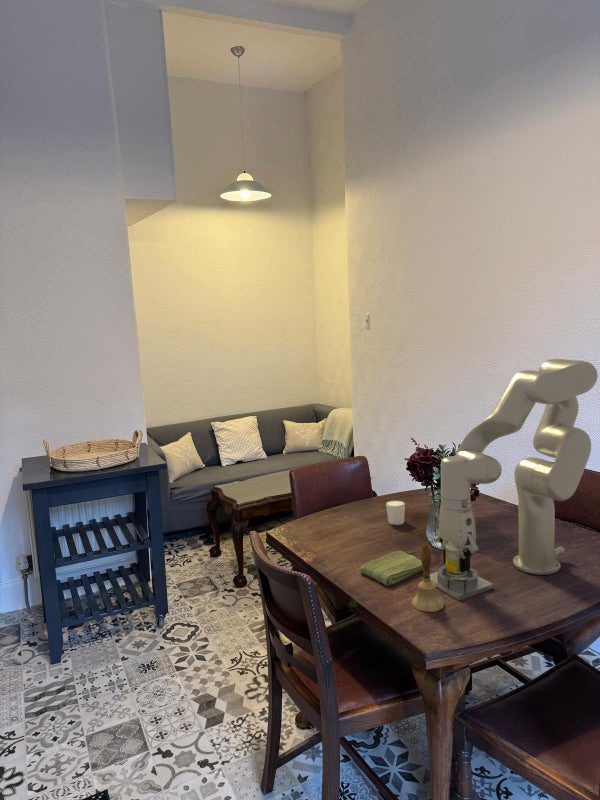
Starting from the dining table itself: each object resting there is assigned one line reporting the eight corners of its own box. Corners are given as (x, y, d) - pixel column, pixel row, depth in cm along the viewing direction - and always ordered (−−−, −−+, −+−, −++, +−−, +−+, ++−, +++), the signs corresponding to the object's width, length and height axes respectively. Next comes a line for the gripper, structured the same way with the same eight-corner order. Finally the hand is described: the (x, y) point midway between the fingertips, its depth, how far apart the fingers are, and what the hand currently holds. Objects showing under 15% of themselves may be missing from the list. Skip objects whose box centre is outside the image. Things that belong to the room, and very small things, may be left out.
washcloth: (431, 569, 166) (431, 559, 165) (388, 589, 156) (387, 578, 155) (399, 556, 177) (398, 546, 176) (356, 573, 166) (356, 563, 166)
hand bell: (406, 607, 145) (404, 548, 143) (418, 593, 152) (416, 536, 149) (437, 615, 140) (435, 554, 138) (449, 600, 147) (447, 541, 145)
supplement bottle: (451, 567, 159) (451, 532, 157) (470, 572, 155) (470, 536, 154) (442, 574, 155) (441, 538, 153) (461, 579, 151) (460, 543, 150)
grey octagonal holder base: (456, 569, 164) (456, 558, 164) (493, 588, 152) (493, 576, 152) (423, 579, 159) (423, 569, 159) (458, 600, 147) (458, 588, 146)
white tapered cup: (382, 521, 206) (382, 502, 205) (398, 517, 209) (397, 499, 208) (393, 526, 200) (392, 507, 199) (409, 522, 203) (409, 503, 202)
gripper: (490, 508, 146) (490, 575, 149) (444, 492, 162) (445, 552, 164) (468, 514, 143) (468, 582, 145) (423, 497, 158) (425, 558, 161)
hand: (456, 566), depth 155 cm, fingers closed on supplement bottle, 5 cm apart
